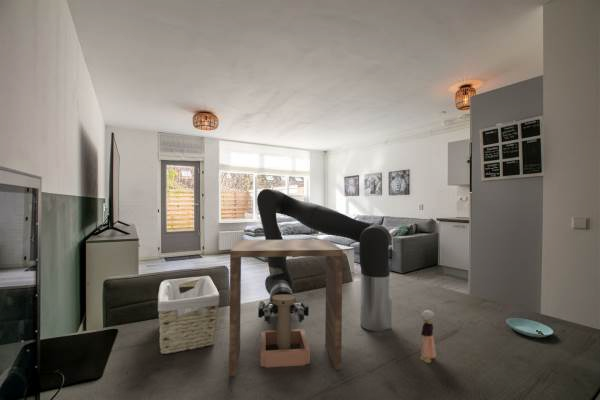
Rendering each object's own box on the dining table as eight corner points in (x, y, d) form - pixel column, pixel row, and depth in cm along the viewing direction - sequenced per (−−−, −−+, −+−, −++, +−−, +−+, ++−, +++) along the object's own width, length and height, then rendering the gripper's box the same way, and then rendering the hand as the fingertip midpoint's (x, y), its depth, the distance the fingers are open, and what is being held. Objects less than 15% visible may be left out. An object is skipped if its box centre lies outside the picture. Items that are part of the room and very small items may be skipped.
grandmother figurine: (433, 366, 72) (434, 316, 72) (417, 362, 74) (418, 313, 74) (437, 353, 79) (438, 307, 79) (422, 349, 81) (423, 304, 81)
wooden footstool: (326, 335, 88) (327, 239, 88) (341, 369, 71) (342, 249, 70) (236, 339, 85) (237, 240, 85) (229, 376, 67) (230, 250, 67)
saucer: (553, 332, 93) (553, 325, 93) (553, 345, 84) (553, 338, 84) (508, 321, 100) (508, 314, 100) (503, 332, 92) (504, 325, 92)
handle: (295, 357, 76) (295, 300, 76) (270, 357, 76) (271, 299, 76) (296, 348, 80) (296, 294, 81) (273, 348, 80) (273, 294, 81)
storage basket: (159, 322, 96) (160, 278, 96) (210, 315, 103) (210, 274, 103) (156, 359, 74) (156, 302, 74) (220, 347, 81) (220, 294, 81)
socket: (303, 340, 85) (303, 328, 85) (310, 364, 72) (310, 350, 72) (261, 342, 83) (261, 330, 83) (260, 367, 71) (260, 353, 71)
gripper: (259, 286, 91) (257, 305, 75) (303, 285, 93) (311, 304, 77) (259, 310, 91) (257, 334, 75) (303, 309, 93) (311, 332, 77)
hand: (284, 319), depth 76 cm, fingers open, 8 cm apart
